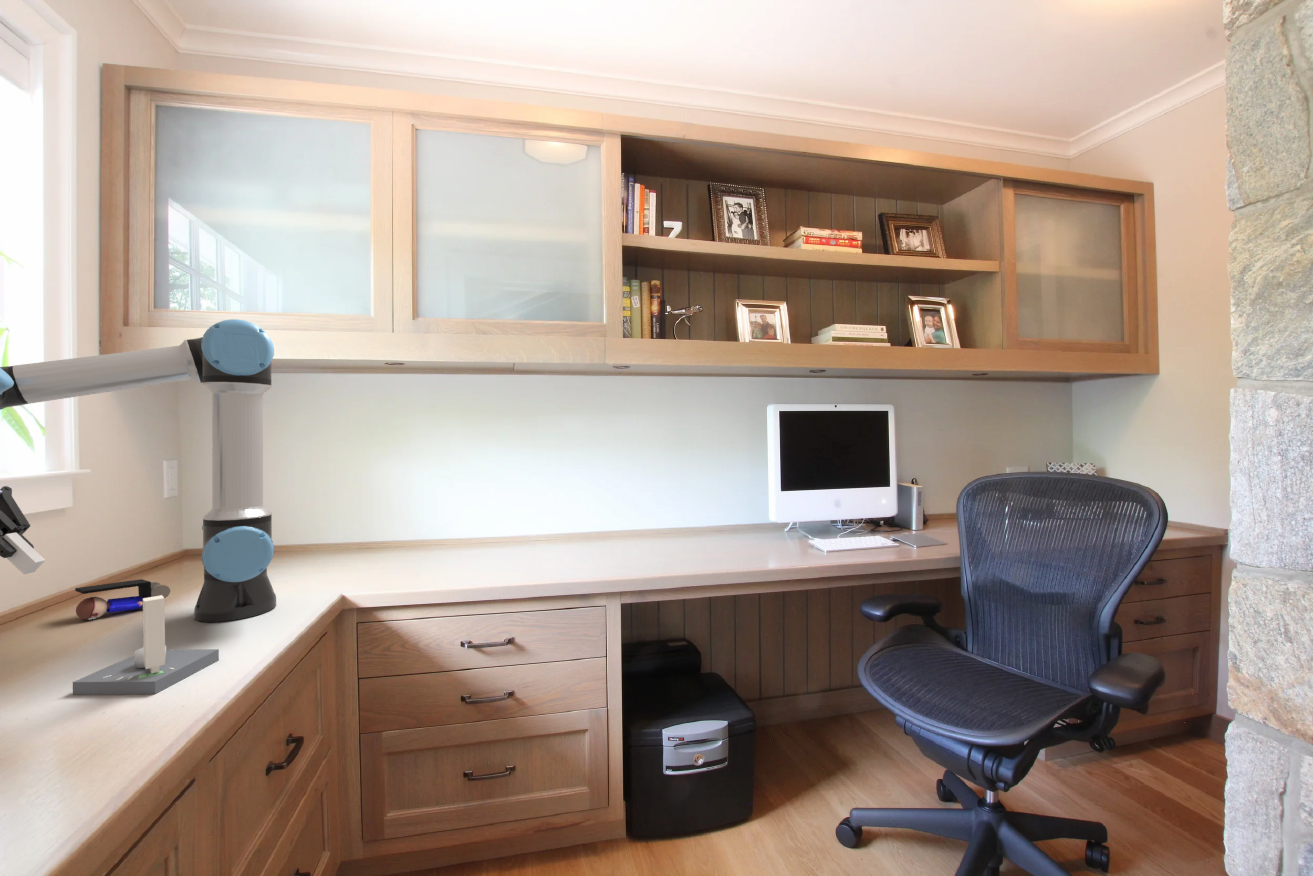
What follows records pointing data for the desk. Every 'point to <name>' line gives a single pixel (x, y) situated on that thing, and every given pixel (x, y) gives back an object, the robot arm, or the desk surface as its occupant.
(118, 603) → the figurine character
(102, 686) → the dial plate
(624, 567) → the desk surface
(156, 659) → the lever
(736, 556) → the desk surface
